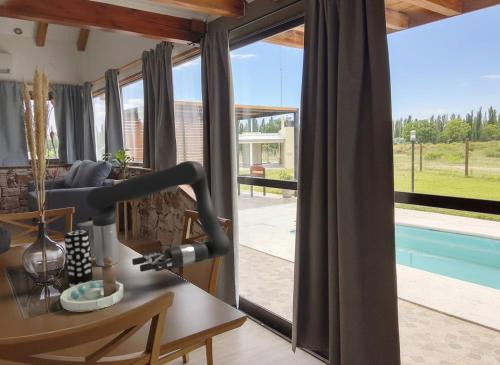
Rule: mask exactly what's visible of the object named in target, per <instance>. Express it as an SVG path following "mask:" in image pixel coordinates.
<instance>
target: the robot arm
mask: <svg viewBox="0 0 500 365" xmlns="http://www.w3.org/2000/svg"><path fill="white" fill-rule="evenodd" d="M205 171H206V170H205V168H204V166H203V165H202V164H201V163H200V162H198V161H192V160H187V161H182V162H180V163H177V164H175V165H173V166H171V167H168V168H165V169H162V170H161V169H160V170H156V171H155V170H154V171H151V172H147V173H142V174H139V175H136V176H133V177H130V178H127V179H126V180H123V181H120V182H118V183H116V184H112V185H102V186H97V187H94V188H92V189H90V190H89V191H88V192H87V194H86V197H85V198H86V199H85V201H86V204H87V206H89V208H91V209H94V210H96V214H95V216H93V217H92V221H93V232H94V244H95V256H96V257H95V265H96V266H99V267H100V266H101V267H102V266H104V263H103V260H104V258H105V257H111V258H112V265H115V264H117V263H119V262H120V261H119V260H121V258H120V246H119V239H118V231H117V222H116V221H117V217H118V203H120V202H126V201H134V200H138V199H143V198H147V197H151V196H154V195H157V194H158V193H160V192H162V191H164V190H167V189H169V188H172V187H178V186H186V185H188V186H189V185H190V187H191V189H192V191H193V194H194V196H195V201H196V211H197V216H198V219H199V222H200V225H201V228H202V230H203V232H204V234H205V235H207V236H208V237H209V238H210V241H204V242H195V243H194V242H193V243H191V244H182V245H176V246H171V247H167V248H165V250H164V253H160V252H159V251H154V252H149V253H143V254H142V256H140V257H135V258H132V261H131V262H132V265H133V266H137V265H139V271H140V272H146V271H147V272H148V271H150V270H152V271H155V272H160V271H163V270H168V269H171V270H172V269H177V268H181V267H184V266H189V265H192V264H195V263H199V262H203V261H205V260H211V259H217V258H222V257H225V256H227V255H229V254H230V253H231V251H232V243H231V241H230V238H229V236H228V235H227V233H226V231H225V230H224V229H223V227H222V225H221V223H220V220H219V218H218V217H219V216H218V214H217V211H216V209H215V206H214V203H213V200H212V197H211V193H210V190H209V185H208V181H207V180H208V179H207V174H206V172H205Z"/></svg>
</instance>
